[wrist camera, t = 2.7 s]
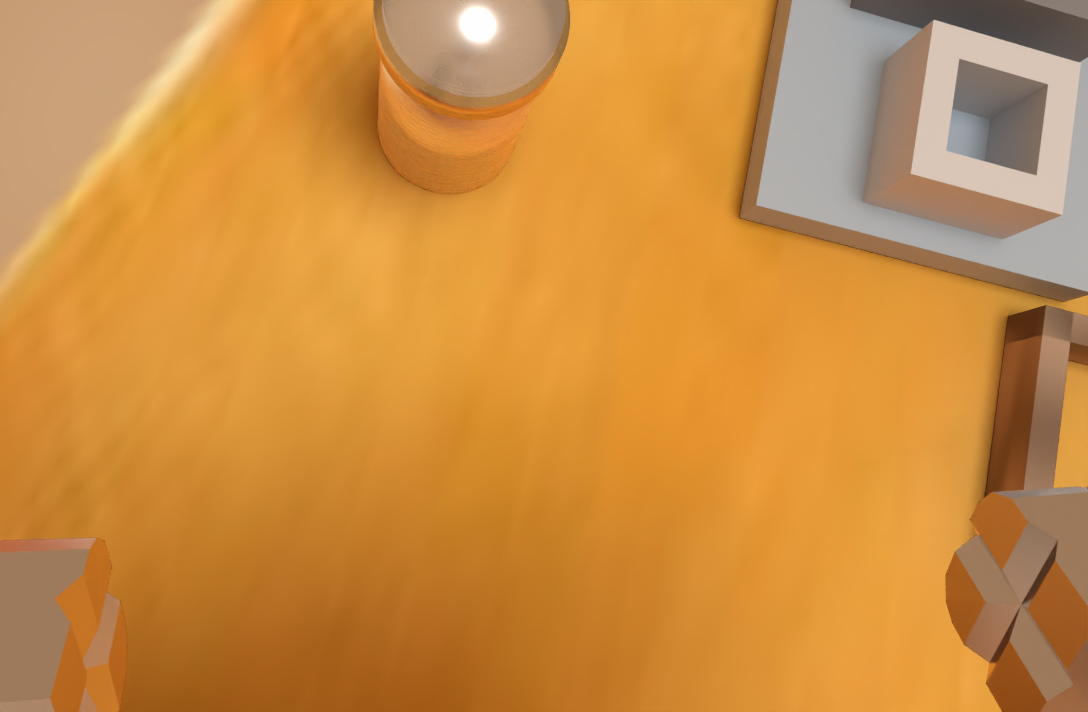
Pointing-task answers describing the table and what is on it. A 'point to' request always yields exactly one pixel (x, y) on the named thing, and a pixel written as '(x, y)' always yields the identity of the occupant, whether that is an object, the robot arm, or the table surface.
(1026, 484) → the tube tray
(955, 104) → the plate
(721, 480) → the table surface
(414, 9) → the clear cylindrical piece
